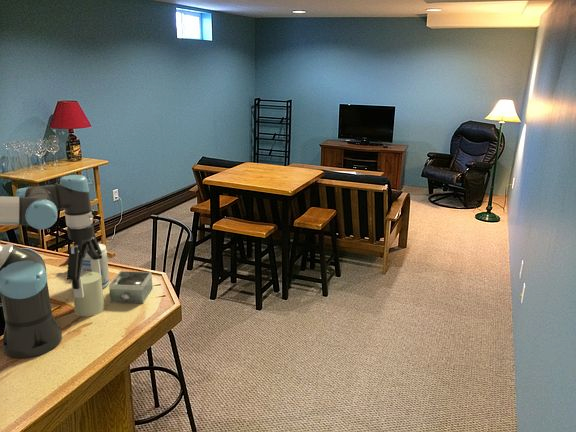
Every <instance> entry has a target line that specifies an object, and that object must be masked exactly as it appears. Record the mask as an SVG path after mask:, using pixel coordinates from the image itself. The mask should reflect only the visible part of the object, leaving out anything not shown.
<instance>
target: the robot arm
mask: <svg viewBox="0 0 576 432" xmlns="http://www.w3.org/2000/svg"><path fill="white" fill-rule="evenodd" d="M59 181H60V182H59V183H57V184H49V185H39V186H26V187H21V188H18V189H16V191H15V196H4V195H3V196H0V226H30V227H32V228H34V229H36V230H47V229H49V228H50V227H51V228H52V226H53V225H54V224H55V223H56V222H57V219H58V214H59V213H58V211H59V210H64V216H65V224H66V226H67V228H66V230H67V231H66V232H67V236H68V239H69V240H71V241H73V246H69V247H68V258H69V261H68V265H67V275H66V279H67V281H71V280H72V284H71V286H72V285H73V291H72V293H73V292H74V297H78V298H83V297H84V292H83V285H82V278H81V277H80V273H81V268H82V263H83V258H85V255H86V253H88V255H89V256H90V257H91V258H92V259H91V260H90V263H91V270H92V272H97V273H100V274H101V270H100V262H99V259H102V255H101V254H102V252H101V249H100V247H99V245H98V243H99V242H98V241H97V238H96V237H97V236H96V233H95V227H94V224H93V219H94V215H93V212H92V206H91V196H90V194H91V193H90V188H89V183H88V182H89V181H88V179H87V177H86V176H85V175H82V174H69V175H64V176H61V178H60V179H59ZM49 292H50V291H49V285H48V273H47V266H46V262H45V260H44V258H43V256H41V254H40V253H39V252H37V251H36V250H34V249H31V248H28V247H21V248H20V247H19V246H17V245H14V244H13V243H7V244H1V243H0V299H1V304H2V305H1V306H2V311H3V316H4V321H5V327H4V330H3V331H4V332H3V337H2V341H1V347H2V352H3V353H4V354H5V355H6V356H7V357H11V358H13V359H25V358H26V359H27V358H34V357H37V356H40V355H43V354H46V353H47V352H50V351H52V350H53V349H54V348H56V347H57V346H59V344H60V343H61V342H62V340H63V334H62V328H61V327H60V326H59V324H58V322H57V320H56V318H55V316H54V315H53V312H52V306H51V297H50V293H49Z"/></svg>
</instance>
